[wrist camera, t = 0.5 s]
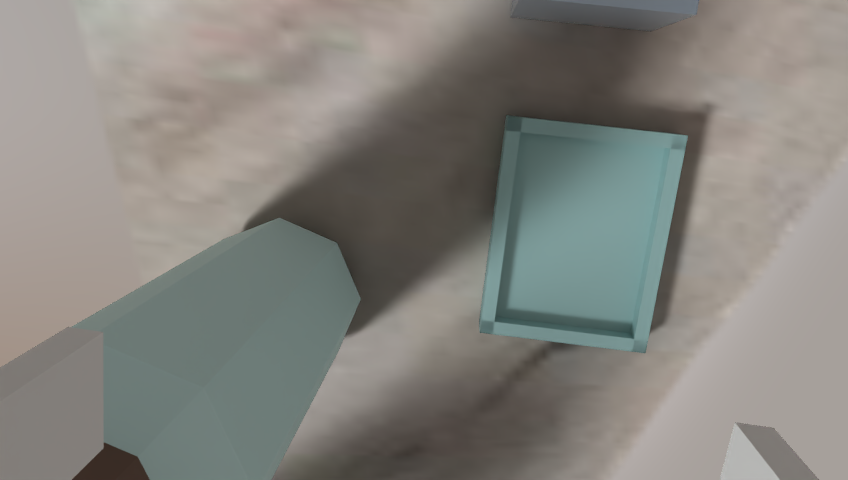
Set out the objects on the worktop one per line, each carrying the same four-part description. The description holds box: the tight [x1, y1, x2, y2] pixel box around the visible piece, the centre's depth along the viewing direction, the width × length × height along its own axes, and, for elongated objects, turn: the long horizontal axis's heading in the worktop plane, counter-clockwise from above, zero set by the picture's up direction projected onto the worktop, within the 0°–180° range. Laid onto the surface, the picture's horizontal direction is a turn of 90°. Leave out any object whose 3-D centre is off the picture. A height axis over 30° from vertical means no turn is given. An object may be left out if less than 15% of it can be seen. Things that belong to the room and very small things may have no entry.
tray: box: [479, 115, 688, 353], centre depth 38 cm, size 13×10×2 cm
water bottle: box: [72, 218, 361, 480], centre depth 29 cm, size 10×10×25 cm
